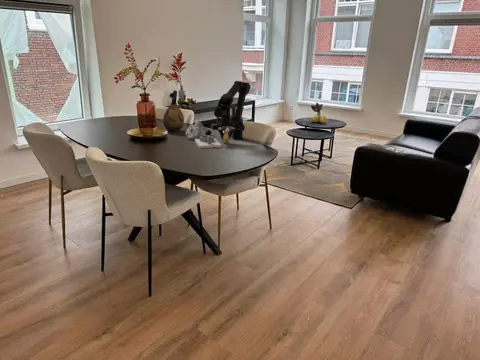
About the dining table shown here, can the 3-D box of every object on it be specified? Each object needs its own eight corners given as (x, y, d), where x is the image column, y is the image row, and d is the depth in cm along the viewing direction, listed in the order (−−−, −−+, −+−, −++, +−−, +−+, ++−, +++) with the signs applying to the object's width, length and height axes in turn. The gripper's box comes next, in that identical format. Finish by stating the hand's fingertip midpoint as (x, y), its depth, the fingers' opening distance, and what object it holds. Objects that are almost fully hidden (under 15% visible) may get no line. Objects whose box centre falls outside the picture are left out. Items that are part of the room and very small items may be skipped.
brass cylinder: (227, 142, 232) (228, 130, 229) (229, 144, 227) (229, 132, 225) (221, 142, 230) (221, 130, 227) (222, 144, 226) (223, 132, 223)
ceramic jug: (182, 134, 249) (181, 92, 239) (161, 133, 249) (159, 91, 239) (186, 129, 265) (185, 89, 255) (166, 128, 265) (164, 88, 255)
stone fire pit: (215, 140, 235) (215, 131, 233) (221, 147, 219) (221, 137, 217) (194, 141, 231) (194, 131, 229) (199, 148, 215) (199, 138, 213)
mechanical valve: (182, 134, 236) (193, 116, 239) (195, 147, 251) (206, 130, 253) (192, 138, 230) (204, 120, 233) (206, 151, 245) (216, 133, 248)
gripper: (236, 113, 232) (235, 136, 238) (209, 113, 227) (209, 136, 232) (241, 116, 222) (240, 139, 228) (212, 116, 217) (212, 140, 222)
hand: (225, 139), depth 228 cm, fingers closed on brass cylinder, 4 cm apart
